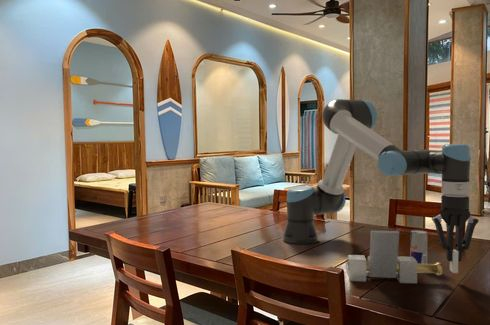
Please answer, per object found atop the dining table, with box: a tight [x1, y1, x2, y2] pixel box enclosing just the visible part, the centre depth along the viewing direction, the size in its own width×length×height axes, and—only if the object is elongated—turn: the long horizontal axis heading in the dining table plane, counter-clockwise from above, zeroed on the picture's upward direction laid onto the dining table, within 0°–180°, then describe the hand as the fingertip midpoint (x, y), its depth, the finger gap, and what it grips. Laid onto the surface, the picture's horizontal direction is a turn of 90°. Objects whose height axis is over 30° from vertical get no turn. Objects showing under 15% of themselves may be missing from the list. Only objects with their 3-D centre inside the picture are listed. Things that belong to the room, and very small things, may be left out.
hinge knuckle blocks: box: [345, 254, 418, 284], centre depth 130 cm, size 20×12×7 cm, turn 81°
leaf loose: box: [366, 230, 400, 279], centre depth 125 cm, size 8×16×5 cm
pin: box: [366, 261, 443, 276], centre depth 126 cm, size 22×4×4 cm, turn 81°
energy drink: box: [409, 229, 428, 264], centre depth 140 cm, size 5×5×12 cm
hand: (453, 271), depth 124 cm, fingers closed
